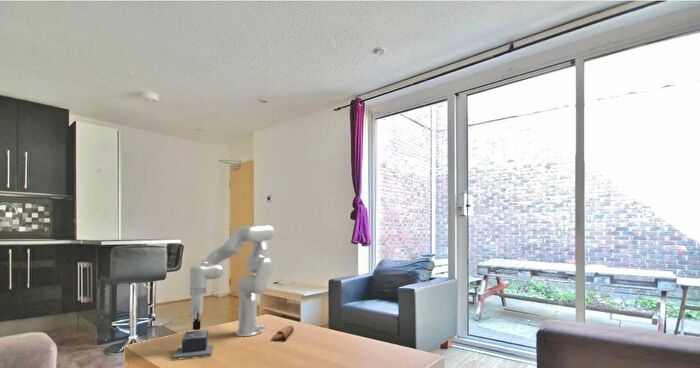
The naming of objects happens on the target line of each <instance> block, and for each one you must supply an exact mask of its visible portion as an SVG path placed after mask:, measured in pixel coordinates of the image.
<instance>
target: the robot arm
mask: <svg viewBox="0 0 700 368" xmlns="http://www.w3.org/2000/svg"><path fill="white" fill-rule="evenodd" d="M275 233H276V232H275V228H274V227H273V226H272V225H268V224H262V225H261V224H257V225H252V226H251V225H247V226H246V225H245V226H244V225H243V226H241V225H240V226H239V227H237V228H236V229H235V230H234V232H233V233H232V234H231V235H230V236H229V238H228V239H227V240H226V241H225V242H224V243H223V244H222V245H221V246H219V247H218V248H217V249H215V250H214V251H212V252H211V253H210V254H209V255H207V256H206V258H205V259H204V260H203V261H202V262H201V264H200V265H199V264H198V265H193V266H190V270H189V275H190V276H189V296H191V297H190V307H189V317H193V319H192V320H193V321H192V330H193V331H201V316H202V313H203V312H204V311H203V310H204V295H206V294H207V280H218V279H220V278H221V277H222V276H223V274H224V268H223V266H222V265H220V263H221V262H223V261H224V260H227V259H230V258H232V257H234V256H236V255H237V254H238V252H239V251H240V250H241V249H242V247H243V246H244V245H245V243H248V242H249V243H252V249H251V252H250V256H249V258H248V261H247V263H246V264H247V265H246V270H247V271H248V272H249V273H251V274H245V275H242V276H241V277H240V278H239V279H238V281H237V292H238V330H236V331H235V336H237V335H239V336H238V337H243V336H245V337H252V336H255V335H258V334H259V333H260V330H265V329H266V325H263V324H260V325H259V324H258V323H257V314H258V313H257V311H258V310H257V309H258V307H257V305H258V298H257V295H261V294H263V293H264V292H265V291H266V289H267V287H268V284H269V282H270V278H271V275H272V271H273V269H274V268H273V267H274V266H273V265H274V264H273V261H272V259H271V258H270V257H268V256H267V254H268V250H269V249H268V248H269V247H268V243H267V241H270V240H272V239H273V238H274V236H275ZM254 274H255V275H254Z"/></svg>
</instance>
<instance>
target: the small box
mask: <svg viewBox="0 0 700 368" xmlns="http://www.w3.org/2000/svg"><path fill="white" fill-rule="evenodd" d="M208 343H209V330H193V331H185V333H184V335H183V337H182V339H181V348H182V353H183V352H193V351H203V350H206V347H207V345H209V344H208Z"/></svg>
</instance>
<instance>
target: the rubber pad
mask: <svg viewBox="0 0 700 368" xmlns="http://www.w3.org/2000/svg"><path fill="white" fill-rule="evenodd" d="M212 350H213V351H214V344H210V345H209V344H207V347H206V350H203V351H193V352H183V353H182V347H178V348H177V350H176V351H175V352H174V354H173V356H172V360H173V359H179V358H191V359H194V358H193V357H201V358H204V357H203V356H211V357H212V355H213V351H212ZM211 354H212V355H211Z"/></svg>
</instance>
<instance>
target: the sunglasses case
mask: <svg viewBox="0 0 700 368" xmlns="http://www.w3.org/2000/svg"><path fill="white" fill-rule="evenodd" d="M294 331H295V328H294V326H293V325H287V326H285V327H283V328H281V329H279V330H278V331H276V334H274V335H273V336H272V337H271V339H270V342H279V341H282V343H284V342H286V341H287V339H288V338H289V337H290V336H291V334H292V333H293V332H294Z"/></svg>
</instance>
